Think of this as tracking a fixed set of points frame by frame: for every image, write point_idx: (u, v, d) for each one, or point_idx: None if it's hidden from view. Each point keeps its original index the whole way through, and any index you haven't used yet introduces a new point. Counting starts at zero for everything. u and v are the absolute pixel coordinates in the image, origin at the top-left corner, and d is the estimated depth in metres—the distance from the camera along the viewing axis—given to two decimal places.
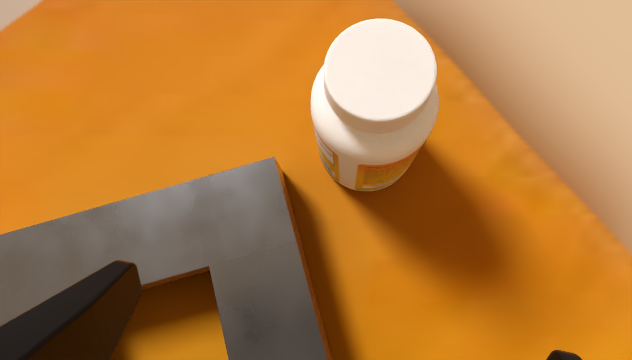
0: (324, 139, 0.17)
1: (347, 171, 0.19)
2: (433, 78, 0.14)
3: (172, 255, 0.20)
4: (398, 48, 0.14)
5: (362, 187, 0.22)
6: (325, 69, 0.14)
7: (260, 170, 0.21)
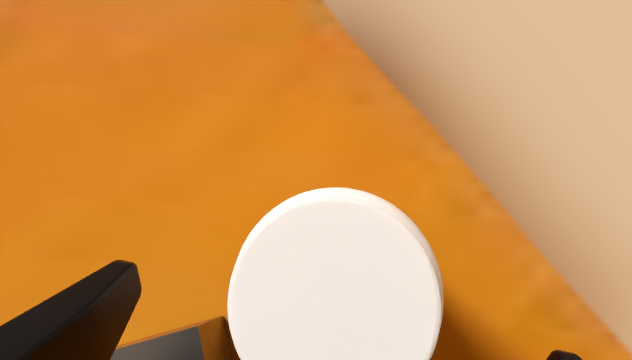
0: None
1: None
2: (435, 329, 0.07)
3: None
4: (367, 261, 0.08)
5: None
6: (229, 301, 0.08)
7: (176, 347, 0.14)
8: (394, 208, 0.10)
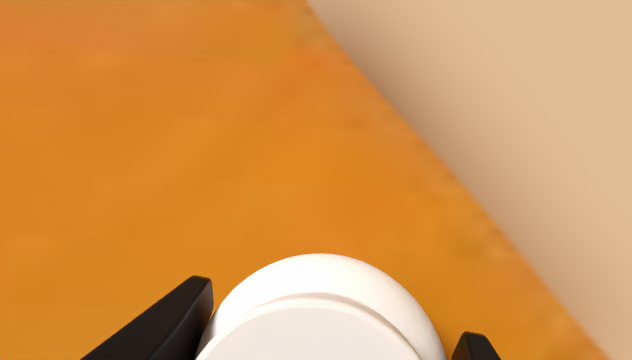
0: None
1: None
2: None
3: None
4: None
5: None
6: None
7: None
8: (391, 285, 0.08)
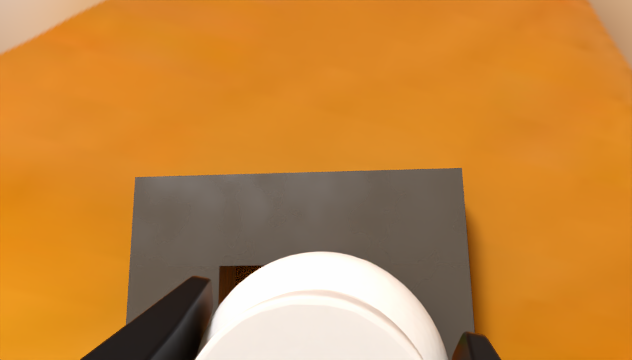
0: None
1: None
2: None
3: (335, 242, 0.19)
4: None
5: None
6: None
7: (444, 178, 0.19)
8: (391, 282, 0.08)
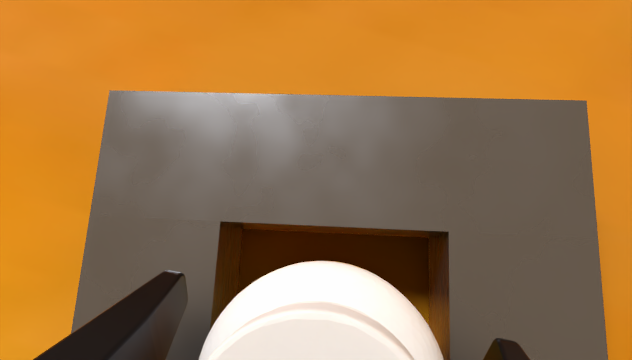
0: None
1: None
2: None
3: (394, 197, 0.13)
4: None
5: None
6: None
7: (560, 114, 0.13)
8: (391, 293, 0.08)
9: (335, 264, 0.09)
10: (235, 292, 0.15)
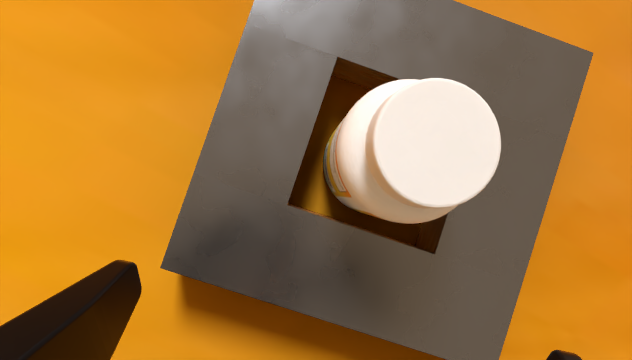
0: (344, 179, 0.15)
1: (352, 204, 0.18)
2: (491, 174, 0.12)
3: (455, 76, 0.19)
4: (465, 125, 0.12)
5: (358, 211, 0.20)
6: (378, 124, 0.12)
7: (574, 56, 0.20)
8: None
9: None
10: None
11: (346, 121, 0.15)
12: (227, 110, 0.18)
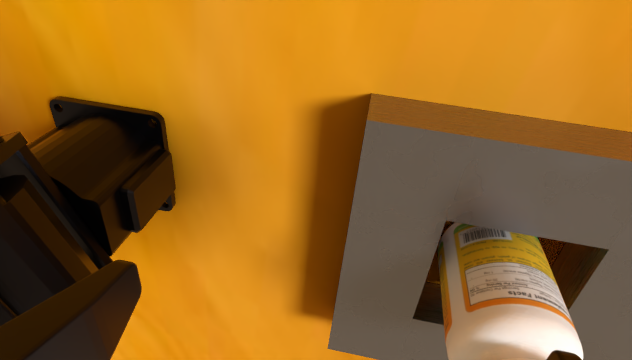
0: (484, 316, 0.17)
1: (453, 282, 0.19)
2: None
3: (577, 330, 0.21)
4: None
5: (441, 255, 0.22)
6: None
7: None
8: None
9: None
10: None
11: (542, 320, 0.16)
12: (551, 160, 0.17)
